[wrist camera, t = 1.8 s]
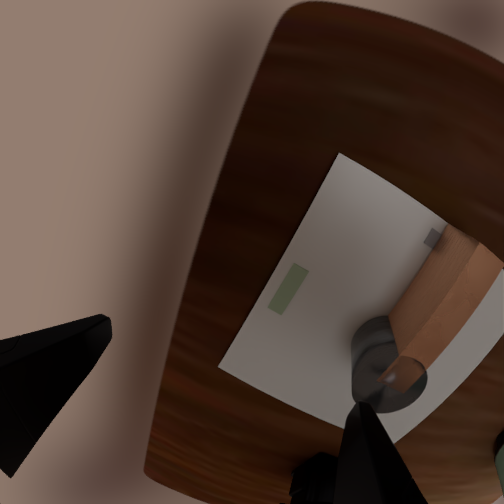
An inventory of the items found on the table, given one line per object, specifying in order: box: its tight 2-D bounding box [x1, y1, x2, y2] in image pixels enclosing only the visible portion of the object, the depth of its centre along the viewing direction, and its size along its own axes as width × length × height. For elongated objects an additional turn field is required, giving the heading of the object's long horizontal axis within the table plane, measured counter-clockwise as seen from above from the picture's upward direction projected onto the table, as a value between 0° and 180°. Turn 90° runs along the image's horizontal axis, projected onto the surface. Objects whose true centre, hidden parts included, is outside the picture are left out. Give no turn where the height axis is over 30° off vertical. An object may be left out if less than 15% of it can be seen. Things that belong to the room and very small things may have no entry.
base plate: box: [218, 153, 504, 444], centre depth 21 cm, size 20×20×1 cm
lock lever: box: [351, 224, 504, 414], centre depth 16 cm, size 12×5×5 cm, turn 154°
